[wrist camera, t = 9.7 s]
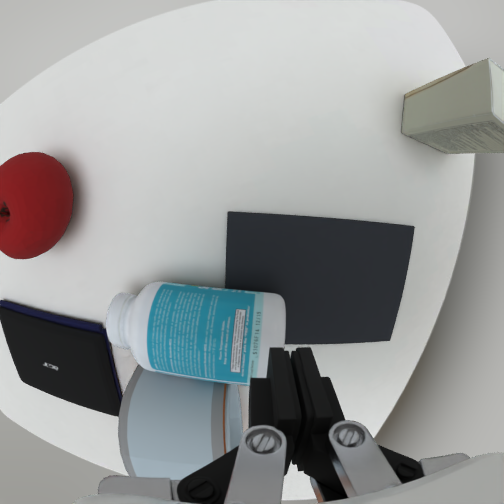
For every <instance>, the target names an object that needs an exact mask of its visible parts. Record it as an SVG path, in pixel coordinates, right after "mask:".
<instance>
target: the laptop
mask: <svg viewBox="0 0 504 504" xmlns="http://www.w3.org/2000/svg"><path fill="white" fill-rule="evenodd" d="M0 321H1V324H2V328H3V331H4V334H5V338H6V341H7V344H8V347H9V350H10V353H11V356H12V358H13V361H14V364H15V366H16V369H17V371H18V374H19V376H20V378H21V380H22V381H23V382H24V383H26V384H28V385H30V386H32V387H34V388H37V389H39V390H41V391H44V392H46V393H48V394H51V395H53V396H56V397H58V398H61V399H64V400H66V401H69V402H72V403H75V404H77V405H80V406H83V407H86V408H89V409H93V410H96V411H99V412H102V413H106V414H109V415H113V416H118V417H119V412H120V407H121V402H122V394H121V390H120V387H119V383H118V379H117V375H116V371H115V366H114V362H113V358H112V353H111V344H110V343H109V341H110V340H109V338H108V336H107V330H106V329H102V325H101V324H95V323H90V322H85V321H80V320H76V319H71V318H67V317H62V316H58V315H54V314H50V313H46V312H42V311H38V310H35V309H31V308H27V307H24V306H20V305H17V304H13V303H10V302H7V301H3V300H0Z"/></svg>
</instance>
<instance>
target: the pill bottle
mask: <svg viewBox="0 0 504 504" xmlns="http://www.w3.org/2000/svg"><path fill="white" fill-rule="evenodd" d="M106 330H107V336H108V338H109V340H110V342H111V343H112V344H113V345H114V346H117V347H120V348H124V349H131V352H132V354H133V356H134V358H135V360H136V361H137V363H138V364H139V365H140V366H141V367H143V368H144V369H146V370H149V371H153V372H158V373H162V374H168V375H173V376H179V377H185V378H191V379H197V380H204V381H211V382H218V383H226V384H234V385H244V386H250V378H266V375H267V366H268V357H269V348H270V347H283V348H284V345H285V330H286V308H285V302H284V299H283V298H282V297H281V296H280V295H278V294H275V293H265V292H254V291H244V290H233V289H223V288H213V287H203V286H195V285H185V284H177V283H169V282H153V283H150V284H149V285H147V286H146V287H144V288H143V289H142V290H141V292H140V293H139V294H138V296H136V295H134V294H128V293H119V294H117V295H116V296H115V297H114V298H113V300H112V302H111V304H110V306H109V309H108V313H107V318H106Z"/></svg>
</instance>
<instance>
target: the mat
mask: <svg viewBox="0 0 504 504" xmlns="http://www.w3.org/2000/svg"><path fill="white" fill-rule="evenodd" d="M414 228H415V227H414V226H407V225H398V224H389V223H379V222H369V221H358V220H347V219H336V218H324V217H310V216H296V215H281V214H265V213H246V212H228V218H227V245H226V280H225V289H233V290H244V291H254V292H265V293H275V294H278V295H280V296H281V297H282V298H283V299H284V302H285V308H286V330H285V344H343V343H364V342H379V341H390V338H391V335H392V332H393V328H394V325H395V321H396V317H397V314H398V310H399V306H400V302H401V298H402V293H403V289H404V285H405V280H406V275H407V270H408V265H409V260H410V254H411V248H412V242H413V235H414Z"/></svg>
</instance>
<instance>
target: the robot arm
mask: <svg viewBox="0 0 504 504" xmlns="http://www.w3.org/2000/svg"><path fill="white" fill-rule="evenodd" d="M291 459H292V464H293V465H295V464H297V468H298V471H304V473H305V474H307V475H308V476H310V482H311V485H312V488H313V490H314V493H315V495H316V498H317V500H318V503H315V504H504V453H488V454H483V455H479V456H475V457H472V458H470V457H469V456H467V455H465V454H463V453H456V454H451V455H446V456H440V457H433V458H425V459H421V460H420V461H419V462H417V461H416V460H414V459H412V458H409V457H406V456H404V455H401V454H399V453H396V452H394V451H392V450H389V449H387V448H384V447H382V446H380V445H377V444H376V442H375V440H374V439H373V437H372V436H371V434H370V433H369V431H368V429H367V428H366V427H365V426H364V425H362V424H361V423H358V422H356V421H350V420H346V421H345V418H344V415H343V412H342V409H341V407H340V404H339V401H338V398H337V396H336V393H335V390H334V388H333V385H332V382H331V380H330V378H329V377H321V376H320V373H319V370H318V367H317V364H316V361H315V359H314V356H313V353H312V350H311V348H310V347H304V348H297V349H296V351H292V352H291V358H290V356H289V351H284V348H283V347H270V348H269V357H268V366H267V375H266V378H250V389H249V429H247V430H246V431H245V432H244V433H243V434H242V437H241V440H240V444H239V445H238V446H237V447H235V448H234V449H232V450H231V451H229V452H227V453H226V454H224V455H223V456H221V457H219V458H218V459H216V460H214V461H213V462H211V463H209V464H208V465H206V466H204V467H202V468H201V469H199V470H197V471H195V472H193V473H192V474H190V475H188V476H186V477H185V478H183V479H182V480H171V479H170V478H151V477H131V476H118V475H113V476H108V477H105V478H104V479H103V480H102V481H101V482H100V484H99V487H98V494H97V495H89V496H85V497H82V498H79V499H77V500H76V501H74V502H73V503H72V504H281V499H282V489H283V480H284V476H285V475H286V474H287V471H288V468H289V465H290V462H291Z"/></svg>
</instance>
